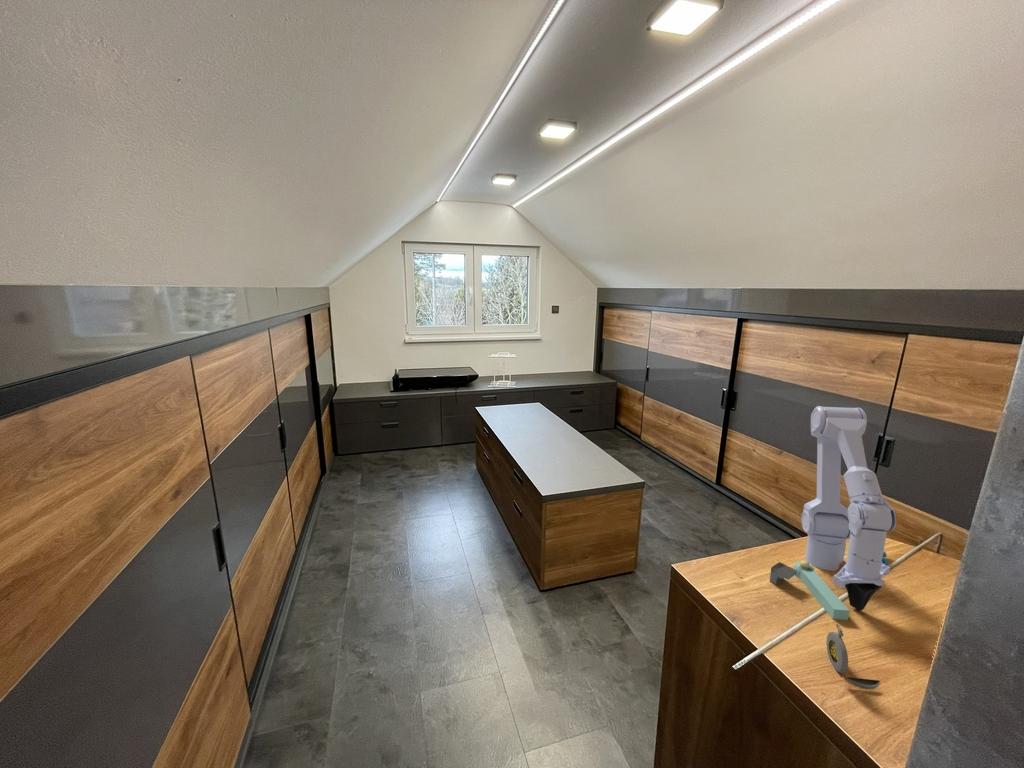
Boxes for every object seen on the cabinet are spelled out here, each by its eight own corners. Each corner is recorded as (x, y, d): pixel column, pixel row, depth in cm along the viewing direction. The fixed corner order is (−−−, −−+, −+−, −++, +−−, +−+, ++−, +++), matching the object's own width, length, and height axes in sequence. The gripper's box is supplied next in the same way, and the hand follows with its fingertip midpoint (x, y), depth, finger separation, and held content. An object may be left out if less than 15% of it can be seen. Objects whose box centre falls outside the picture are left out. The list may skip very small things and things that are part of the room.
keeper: (777, 580, 104) (779, 561, 103) (794, 589, 100) (796, 570, 99) (769, 586, 102) (771, 567, 101) (786, 595, 98) (788, 576, 97)
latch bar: (790, 569, 106) (792, 557, 105) (807, 570, 105) (809, 558, 104) (830, 618, 89) (832, 604, 88) (850, 620, 89) (852, 605, 88)
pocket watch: (888, 685, 75) (896, 639, 73) (855, 698, 73) (863, 651, 71) (841, 649, 83) (848, 607, 81) (811, 661, 81) (817, 617, 79)
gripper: (860, 571, 83) (852, 627, 86) (909, 557, 87) (899, 612, 90) (826, 551, 90) (819, 604, 92) (873, 539, 94) (864, 591, 96)
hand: (856, 607), depth 91 cm, fingers closed
